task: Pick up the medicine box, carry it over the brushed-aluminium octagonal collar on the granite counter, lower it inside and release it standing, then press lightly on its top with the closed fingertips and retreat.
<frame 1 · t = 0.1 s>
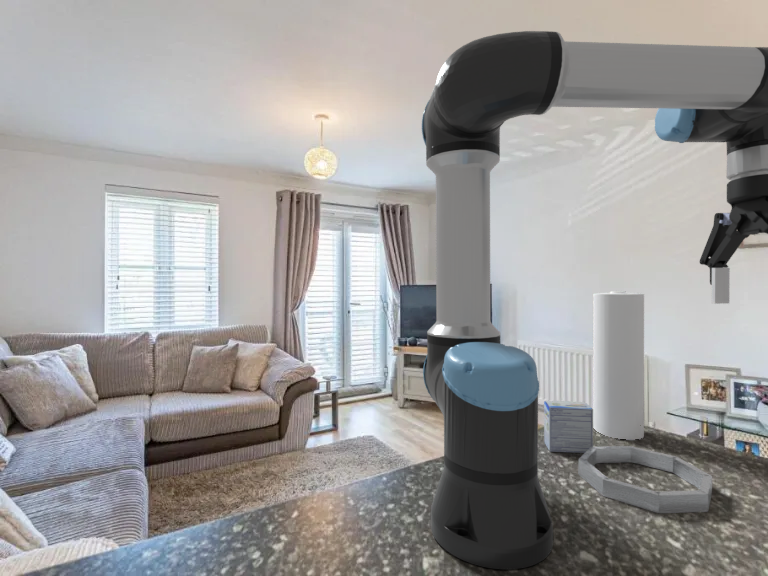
hand: (755, 305, 69), 28 cm above the countertop, fingers open, 13 cm apart
cylinder container: (617, 432, 88), on the countertop
medicine box: (567, 449, 79), on the countertop
collar: (642, 482, 66), on the countertop
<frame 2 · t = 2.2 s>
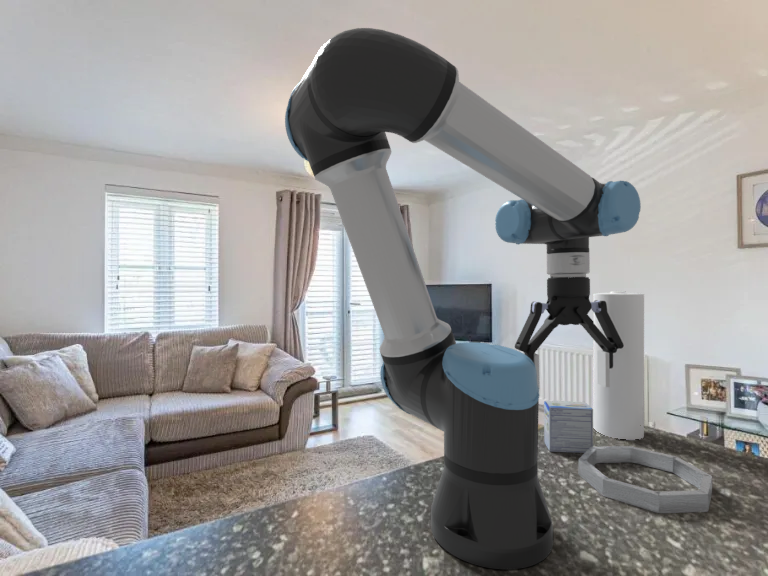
hand: (569, 386, 79), 12 cm above the countertop, fingers open, 13 cm apart
nothing on the countertop moved.
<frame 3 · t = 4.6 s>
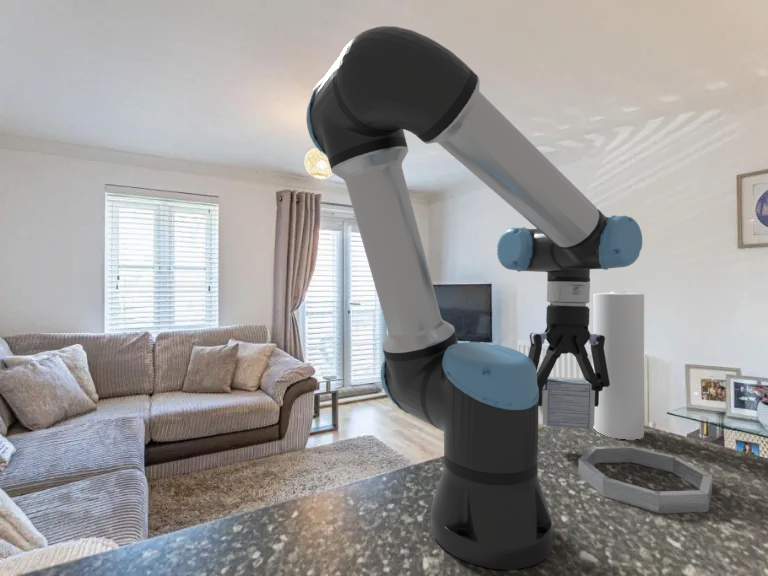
hand: (565, 422, 79), 5 cm above the countertop, fingers closed on medicine box, 8 cm apart
medicine box: (565, 425, 79), point 5 cm above the countertop, touching gripper
everything else where it was.
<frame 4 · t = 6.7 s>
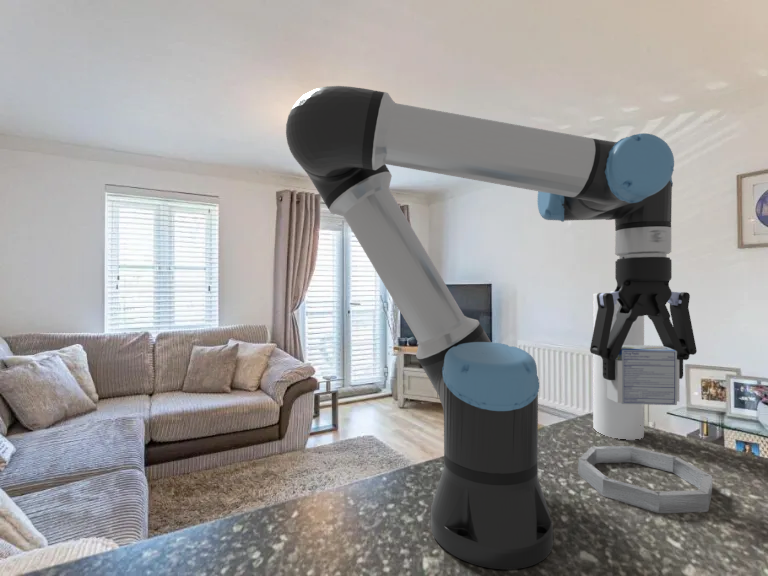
hand: (642, 399, 66), 13 cm above the countertop, fingers closed on medicine box, 8 cm apart
medicine box: (642, 402, 65), point 13 cm above the countertop, touching gripper
everything else where it was.
when the fingers open (1 cm above the countertop, at t = 9.1 s): medicine box drops 1 cm, resting in collar.
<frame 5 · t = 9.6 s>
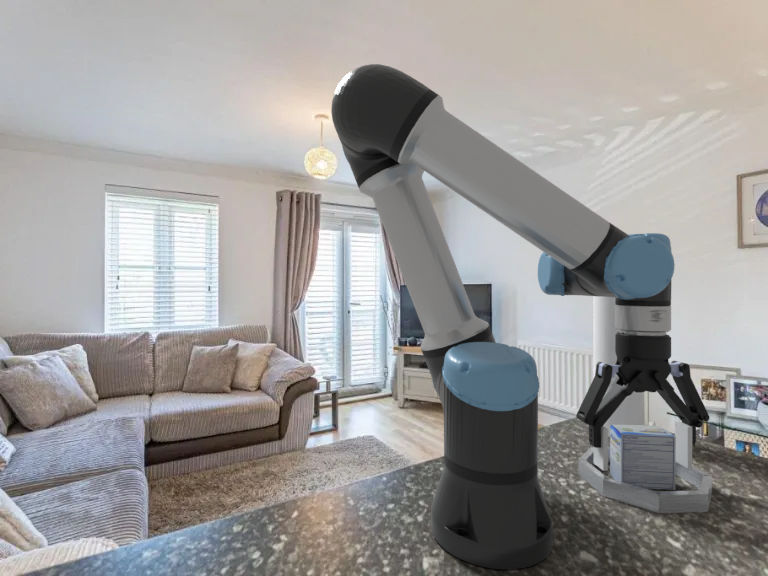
hand: (642, 466, 66), 3 cm above the countertop, fingers open, 13 cm apart
medicine box: (641, 484, 66), resting in collar
everything else where it was.
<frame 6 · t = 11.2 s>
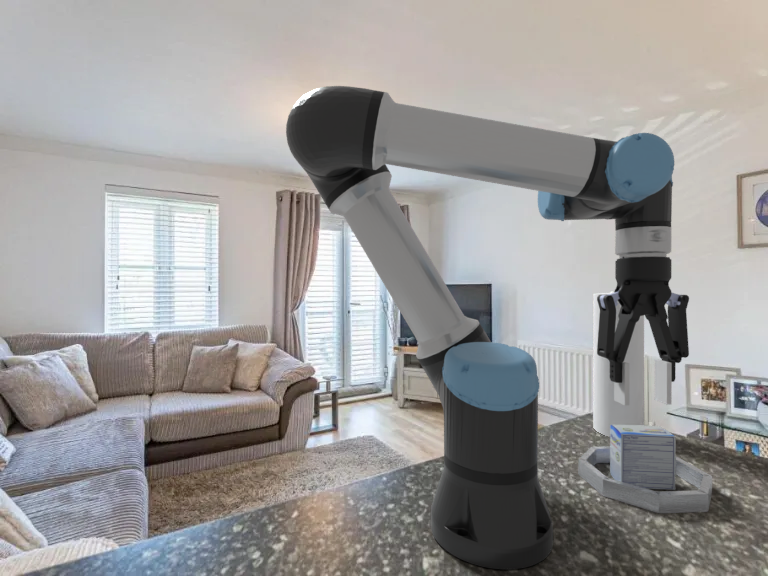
hand: (642, 402, 66), 13 cm above the countertop, fingers open, 6 cm apart
nothing on the countertop moved.
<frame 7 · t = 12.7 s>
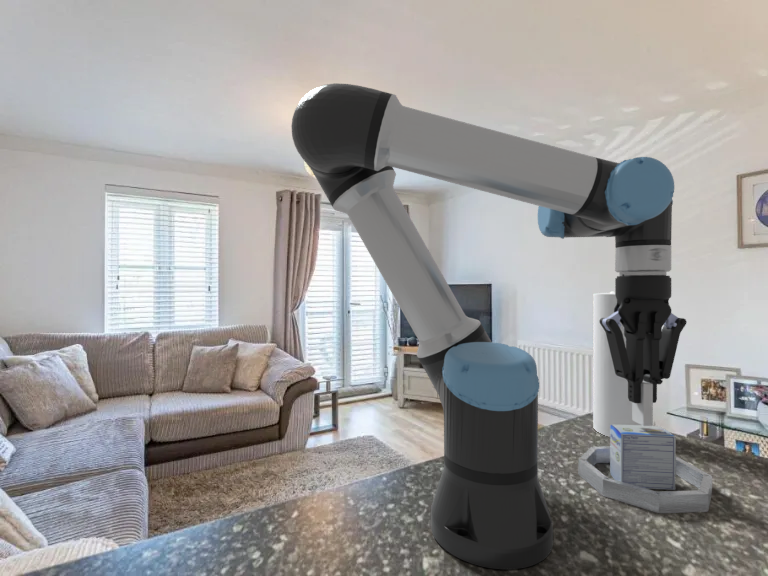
hand: (642, 422, 66), 10 cm above the countertop, fingers closed
nothing on the countertop moved.
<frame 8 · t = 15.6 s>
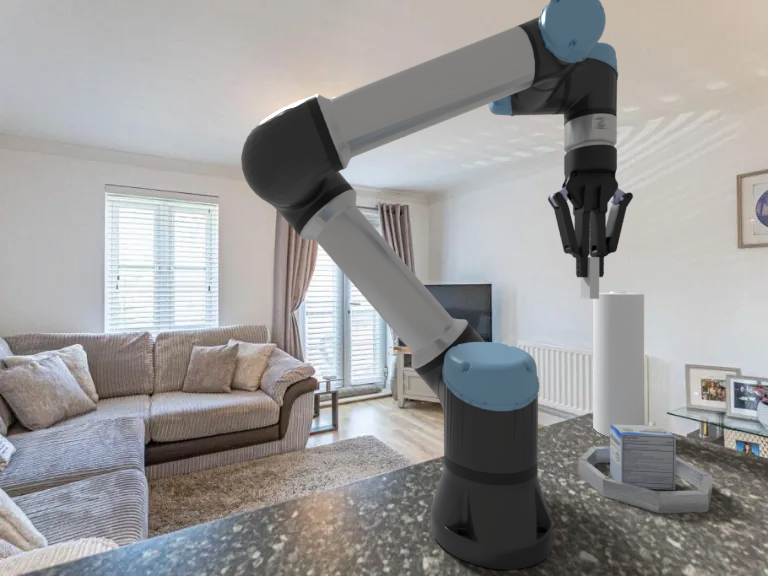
hand: (589, 298, 66), 29 cm above the countertop, fingers closed
nothing on the countertop moved.
at the end: medicine box inside the target area on the collar (0.1 cm from its centre), point 0.0 cm above the collar's base; medicine box tilted 0°; the gripper is holding nothing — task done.
